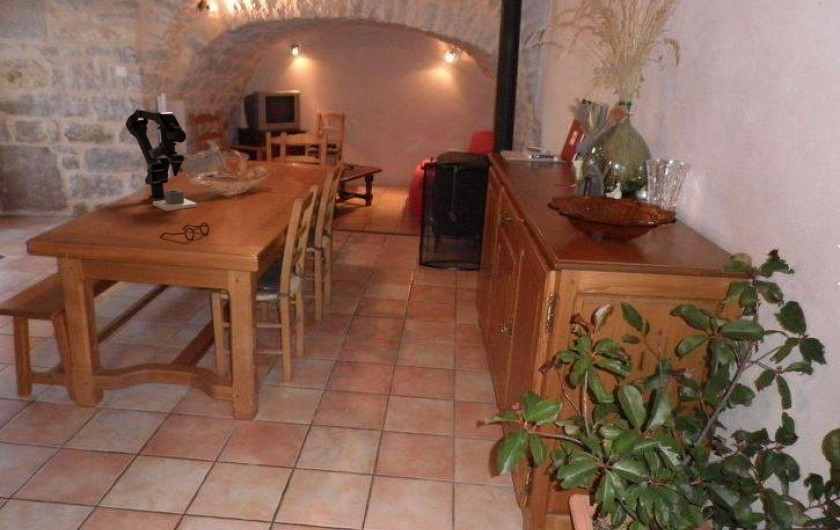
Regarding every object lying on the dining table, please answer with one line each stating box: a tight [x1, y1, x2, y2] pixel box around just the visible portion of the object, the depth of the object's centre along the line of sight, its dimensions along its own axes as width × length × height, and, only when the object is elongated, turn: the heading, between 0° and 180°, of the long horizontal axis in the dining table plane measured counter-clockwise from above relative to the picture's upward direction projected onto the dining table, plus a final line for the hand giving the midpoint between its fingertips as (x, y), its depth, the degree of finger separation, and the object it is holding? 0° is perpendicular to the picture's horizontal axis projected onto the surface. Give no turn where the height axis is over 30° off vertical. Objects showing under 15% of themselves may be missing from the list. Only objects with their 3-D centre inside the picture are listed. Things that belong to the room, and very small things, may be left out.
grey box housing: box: [164, 189, 185, 205], centre depth 284 cm, size 6×6×5 cm
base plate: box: [152, 197, 198, 212], centre depth 284 cm, size 14×14×6 cm
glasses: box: [159, 222, 210, 241], centre depth 240 cm, size 13×13×5 cm
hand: (170, 174), depth 291 cm, fingers open, 9 cm apart
